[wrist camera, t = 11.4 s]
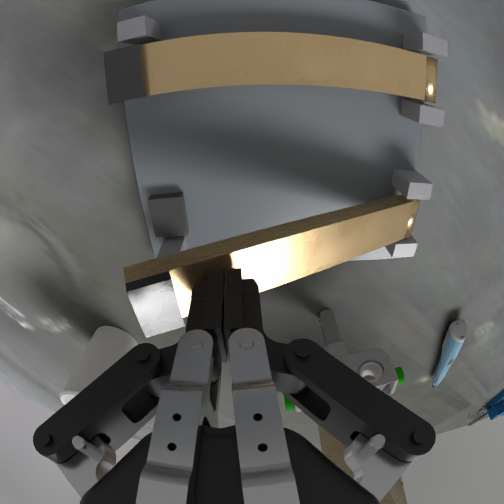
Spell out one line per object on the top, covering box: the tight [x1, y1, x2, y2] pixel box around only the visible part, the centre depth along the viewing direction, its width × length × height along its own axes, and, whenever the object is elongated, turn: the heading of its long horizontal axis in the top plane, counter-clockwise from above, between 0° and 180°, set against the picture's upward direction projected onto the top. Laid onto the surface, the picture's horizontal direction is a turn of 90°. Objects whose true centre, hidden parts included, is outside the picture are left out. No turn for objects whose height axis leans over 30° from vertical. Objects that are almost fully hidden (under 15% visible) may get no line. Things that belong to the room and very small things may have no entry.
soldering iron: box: [468, 390, 504, 426], centre depth 64 cm, size 35×31×18 cm
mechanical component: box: [284, 309, 404, 412], centre depth 25 cm, size 3×10×10 cm, turn 103°
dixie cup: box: [59, 326, 138, 405], centre depth 27 cm, size 8×8×10 cm
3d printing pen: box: [432, 319, 467, 387], centre depth 35 cm, size 19×3×3 cm, turn 18°
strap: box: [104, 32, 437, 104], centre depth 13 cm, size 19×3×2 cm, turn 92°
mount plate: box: [117, 0, 448, 261], centre depth 17 cm, size 20×20×4 cm
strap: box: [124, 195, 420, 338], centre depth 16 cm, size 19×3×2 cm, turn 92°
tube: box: [318, 375, 407, 504], centre depth 29 cm, size 10×10×25 cm
